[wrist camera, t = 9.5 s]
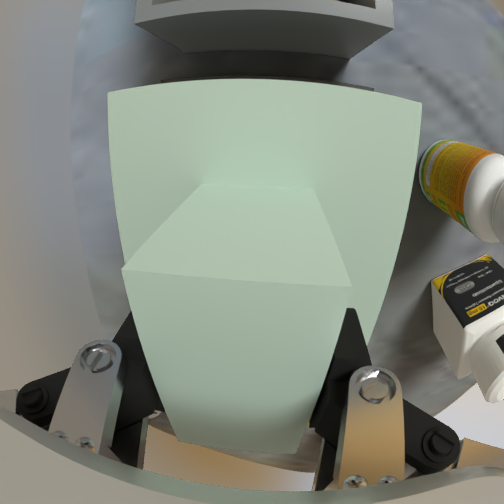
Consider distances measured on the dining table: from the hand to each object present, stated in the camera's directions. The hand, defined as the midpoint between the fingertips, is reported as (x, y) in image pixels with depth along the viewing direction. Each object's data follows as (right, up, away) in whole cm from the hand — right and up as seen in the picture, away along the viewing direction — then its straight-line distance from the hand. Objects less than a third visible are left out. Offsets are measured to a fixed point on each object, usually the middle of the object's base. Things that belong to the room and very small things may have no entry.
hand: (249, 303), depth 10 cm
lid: (0, +2, +3) cm, 3 cm away
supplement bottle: (+15, +8, +8) cm, 19 cm away
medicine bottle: (+21, -2, +13) cm, 24 cm away
